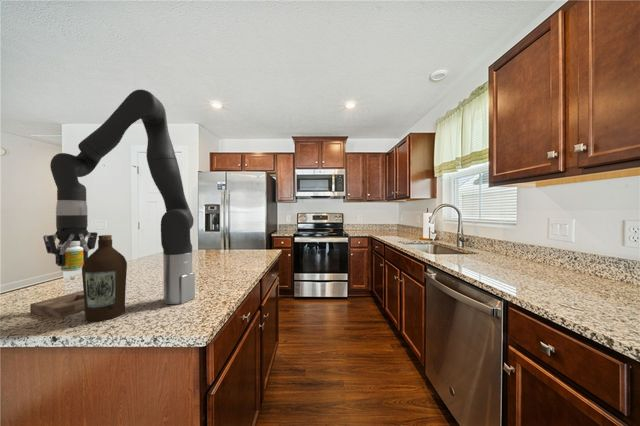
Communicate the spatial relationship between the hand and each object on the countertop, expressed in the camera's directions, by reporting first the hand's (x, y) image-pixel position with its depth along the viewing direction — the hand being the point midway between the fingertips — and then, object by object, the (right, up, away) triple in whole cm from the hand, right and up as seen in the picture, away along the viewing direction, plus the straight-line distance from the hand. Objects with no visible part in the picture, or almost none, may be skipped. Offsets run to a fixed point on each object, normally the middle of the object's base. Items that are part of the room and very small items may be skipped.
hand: (72, 263), depth 84 cm
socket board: (0, -15, 0) cm, 15 cm away
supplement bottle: (0, -2, 0) cm, 2 cm away
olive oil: (+17, -15, -7) cm, 23 cm away
